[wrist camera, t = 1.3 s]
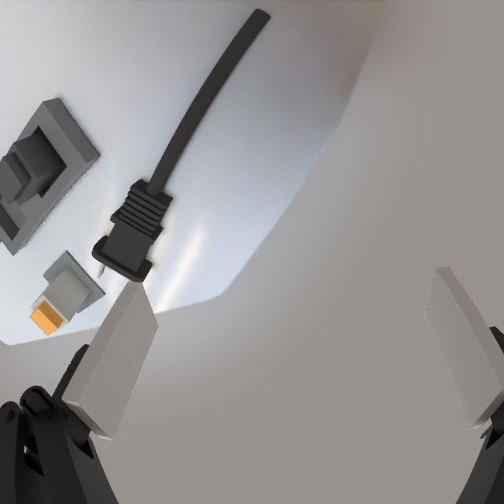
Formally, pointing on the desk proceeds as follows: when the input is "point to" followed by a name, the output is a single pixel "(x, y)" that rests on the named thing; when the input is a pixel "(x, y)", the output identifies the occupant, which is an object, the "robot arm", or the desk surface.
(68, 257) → the mat
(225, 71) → the electrical plug
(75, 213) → the desk surface
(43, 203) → the pdu
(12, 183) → the seated plug
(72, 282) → the white block orange top
